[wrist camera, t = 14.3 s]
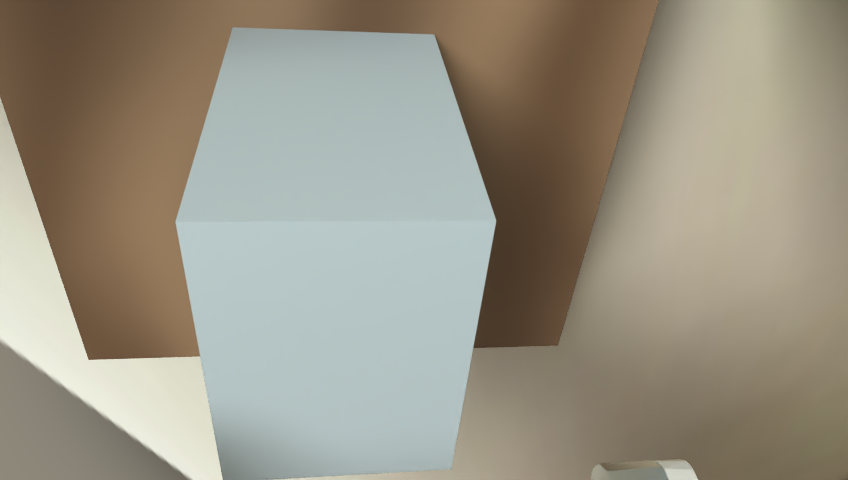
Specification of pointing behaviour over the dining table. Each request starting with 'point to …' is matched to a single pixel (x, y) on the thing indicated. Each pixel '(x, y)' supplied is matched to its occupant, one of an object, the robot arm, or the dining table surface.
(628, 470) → the robot arm
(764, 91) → the dining table surface
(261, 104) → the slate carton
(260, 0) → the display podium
